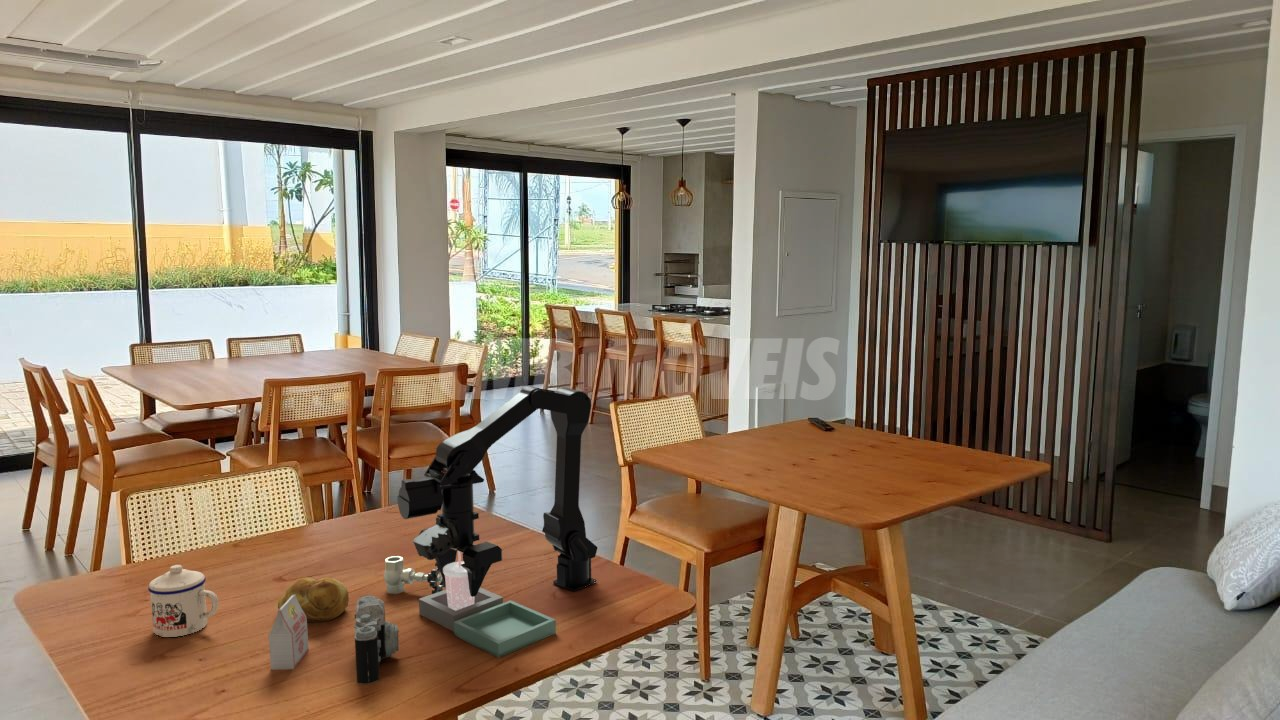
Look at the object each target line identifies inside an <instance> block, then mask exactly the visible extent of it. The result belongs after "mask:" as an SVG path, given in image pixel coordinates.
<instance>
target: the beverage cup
mask: <svg viewBox="0 0 1280 720" xmlns="http://www.w3.org/2000/svg"><path fill="white" fill-rule="evenodd" d="M461 553H462V552H460V551H458V550H457V556H458V557H457V558H458V559H457V561H455V562H453V563H450V564H447V565H446V566H444V568H443V573H444V575H445V582H446V587H445V590H446V591H447V601H448V607H449V608H451V609H453V610H455V611H456V610H459V609H462V608H464V607H467V606H470V605H472V604H474V599H475V596H474V597H472V596H471V595H470V590H469V582H468V574H467V570H466V569H464V568H463V567H462V566H461V564H464V561H463V560H462V556H461V555H462V554H461Z"/></svg>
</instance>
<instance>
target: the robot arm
mask: <svg viewBox="0 0 1280 720" xmlns="http://www.w3.org/2000/svg"><path fill="white" fill-rule="evenodd" d="M540 409H541V410H546V411H550V418H551V422H552V424H553V427H554V430H555V432H556V449H555V451H556V452H555V453H556V454H555V482H554V502H553V506H552V508H551V510H550V512H543V516H542V517H543V527H542V529H541V531H542V532H543V534H544V536H545V539H546V540H547V543H549V544H550V545H552V549H553V550H554V551H556V552H557V553H558V552H559V553H560V554H559V555H557V563H556V579H554V580H552V583H553V585H556V586H558V587H561V588H563V589H567V590H569V591H571V592H577V591H579V590H581V589H580V588H582V589H584V588H586V587H585V586H587V585H589V584H592V583H594V582H596V581H597V579H596V578H592V559H594V558H596V556H597V552H598V545H596V544H595V543H594V542H592V541H591V540H590V539H588V538H587V531H586V524H585V523H586V521H585V520H584V517H583V516H584V515H583V514H582V511H581V509H580V503H579V502H580V480H581V457H582V455H581V453H582V452H581V451H582V436H583V433H584V431H585V430H586V428H587V426H588V424H589V421H590V415H591V412H592V400H591V398H590V397H589V395H588V394H587V393H585V392H584V391H580V390H577V389H573V388H569V387H560V388H559V387H558V388H557V389H556V390H551V389H548V388H547V389H545V388H539V387H536V386H532V385H526V386H524V387H522V388H521V389H520V391H519V392H518V393H517V394H516V395H514V396H513V397H511V398H510V399H509V400H508V401H506V402H505V403H503V405H501V406H500V407H499V408H497V409H496V410H495V411H494V412H492V413H491V414H490V415H488V416H487V417H486V418H484V419H483V420H482V421H480V422H479V423H478V424H476V425H475V426H473V427H472V428H469V429H467V430H464V431H460V432H458V433H456V434H454V435H451V436H450V437H447V438H446V439H445V440H443V441H441V442H440V443H439V444H438V446H437V447H436V449H435V450H436V451H435V456H434V458H433V459H432V461H431V463H430V464H429V466H428V467H427V469H426V471H425V472H424V477H419V478H414V479H413V478H411V479H410V478H409V479H408V478H407V479H402V480H401V487H399V491H398V495H397V496H396V497H397V498H396V499H397V507H398V511H399V513H400V515H401V517H402V518H403V520H409V519H413V518H414V519H415V518H419V517H424V516H430V515H435V514H436V518H435V521H436V522H435V524H434V525H433V526H431V527H429V528H428V527H427V528H424V529H422V530H421V531H420V532H419V534H417V536H416V537H414V538H413V540H412V541H413V545H414V547H415V550H416V552H417V555H418V556H419V557H423V558H426V560H428V561H434V560H435V563H436V562H437V564H438V567H439V570H440V572H439V573H440V574H441V575H442V578H443V580H444V583H445V585H446V582H445V575H444V573H443V568H444V566H446V565H447V564H450V563H453V562H457V561H456V560H457V556H458V551H460V552H461V553H462V561H464V564H461V566H462V567H463V568H464V569H466V570H467V574H468V582H469V590H470V595H471V596H472V597H474V596H476V595H477V593H478V591H479V589H480V587H481V588H482V584H483V582H484V580H485V577H486V575H487V574H488V571H489V569H490V568H491V567H492V565H493V564H495V563H499V562H502V560H503V549H502V548H501V547H500V546H499V545H497V544H495V543H492V542H489V541H483V542H480V543H477V544H474V542H478V541H480V534H478V533H476V532H475V520H479V519H480V517H479V515H480V514H479V512H476V511H475V510H474V486H473V485H475V484H481V483H484V481H485V479H484V478H483V477H482V476H480V474H478V472H476V470H474V469H475V468H476V467H478V465H479V464H480V463H481V462H482V461H483V460H484V458H485V456H486V453H487V452H488V450H489V449H490V448H491V447H492V446H493V445H494V444H495V443H496V442H498V441H499V440H500V439H501V438H503V437H504V436H505V435H507V434H508V433H509V432H511V430H513V429H514V428H515V427H517V426H518V425H519V424H521V423H522V422H523V421H524V420H526V419H527V418H528V417H530V416H531V415H532V414H533V413H534V412H536V411H537V410H540ZM444 470H445V473H444V472H443V471H444ZM439 511H441V513H440V514H437V513H438V512H439ZM594 580H595V581H594ZM597 582H598V581H597ZM594 584H595V583H594ZM592 585H593V584H592ZM589 586H590V585H589ZM583 587H584V588H583ZM587 587H588V586H587Z"/></svg>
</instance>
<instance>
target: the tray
mask: <svg viewBox="0 0 1280 720" xmlns="http://www.w3.org/2000/svg"><path fill="white" fill-rule="evenodd" d="M556 624H557V622H556V618H553V617H550V616H548V615H546V614H543V613H541V612H539V611H537V610H534V609H532V608H530V607H527V606H525V605H522V604H520V603H518V602H516V601H514V600H507V601H504V602H503V603H502V604H499V605H497V606H494V607H492V608H489V609H486V610H484V611H481V612H478V613H476V614H473V615H470V616H468V617H465V618H462V619H460V620H457V621H455V622H454V631H453V635H454V636H455V637H456V638H458V639H460V640H463V641H464V642H467V643H468V644H470V645H472V646H474V647H477V648H479V649H480V650H482V651H484V652H486V653H487V654H490V655H492V656H493V657H497V658H498V659H499V658H502V657H505V656H506V655H510V654H511V653H513V652H516V651H519V650H521V649H523V648H524V647H527V646H530V645H533V644H534V643H537V642H540V641H542V640H544V639H545V638H548V637H550V636H553V635H555V634H557V625H556Z"/></svg>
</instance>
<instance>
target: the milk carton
mask: <svg viewBox="0 0 1280 720" xmlns="http://www.w3.org/2000/svg"><path fill="white" fill-rule="evenodd" d="M308 635H309V634H308V621H307V617H306V615H305V613H304V612H303V610H302V608H301V606H300V604H299V602H298V600H297V598H296V594H295V595H294V596H293V595H292V596H291V597H290V598H289V599H288V600H287V602H286V603H285V604H284V605H283V606H282V607H281V608H280V609H278V610H277V615H276V617H275V619H274V622H273V625H272V627H271V629H270V631H269V633H268V642H269V643H268V644H269V645H268V646H269V660H270V661H269V662H270V670H271V669H272V670H295V668H296V667H297V666H298V665H299V663H300V662H301V660H302V659H303V658H304V657H305V655H307V653H308V651H309V638H308V637H309V636H308Z"/></svg>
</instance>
